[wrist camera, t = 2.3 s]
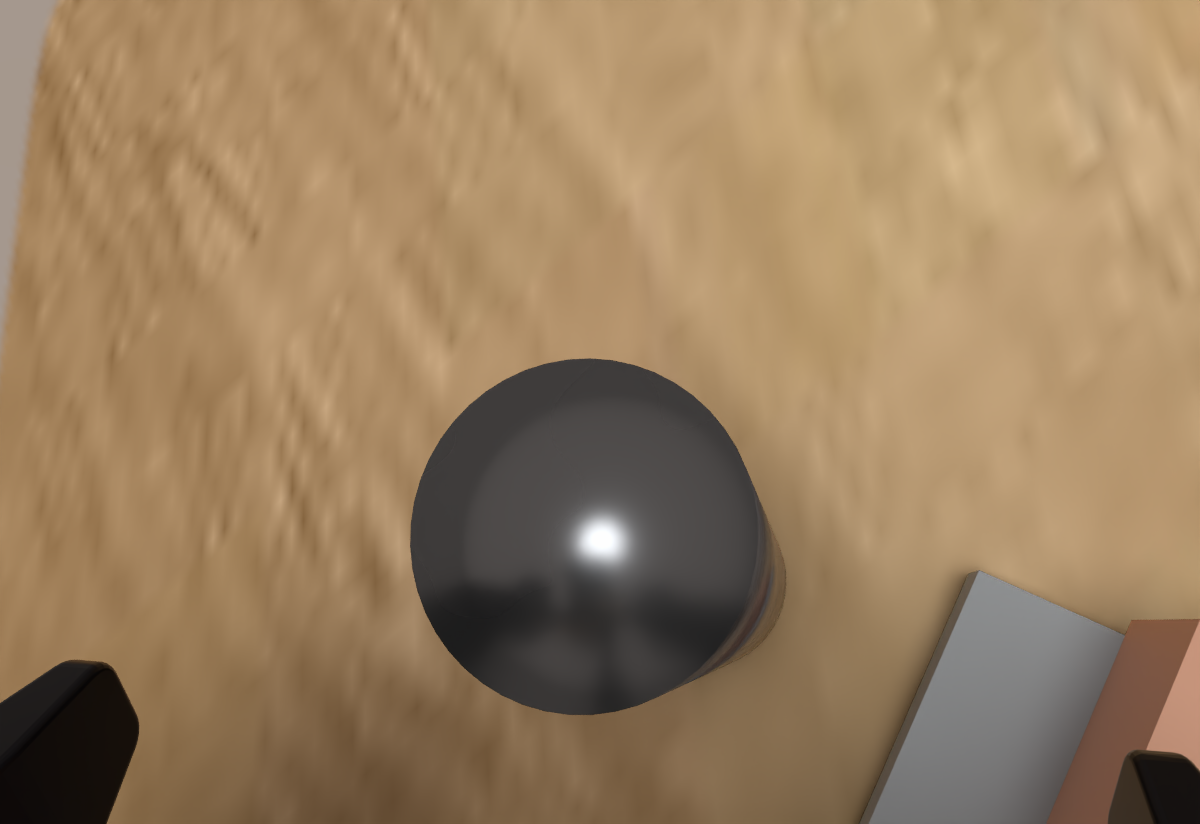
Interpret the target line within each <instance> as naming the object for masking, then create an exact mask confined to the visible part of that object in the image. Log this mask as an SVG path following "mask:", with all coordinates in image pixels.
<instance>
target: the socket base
mask: <svg viewBox="0 0 1200 824" xmlns="http://www.w3.org/2000/svg"><path fill="white" fill-rule="evenodd" d="M1137 749H1139V750H1151V751H1163V752H1174V753H1178V754H1182V755H1183V756H1185V757H1187V758H1188V759H1189V760H1191V761H1192V762H1193V763H1194V764H1195V766H1196V767H1197V768H1198V769H1199V770H1200V619H1179V620H1131V623H1130V625H1129V627H1128V630H1127V632H1126V635H1123V634H1121V633H1118V632H1116V631H1114V630H1112V629H1110V628H1107V627H1105V626H1103V625H1101V624H1098V623H1096V622H1094V621H1092V620H1089V619H1087V618H1085V617H1083V616H1080V615H1078V614H1076V613H1074V612H1071V611H1069V610H1067V609H1065V608H1062V607H1060V606H1058V605H1056V604H1053V603H1051V602H1049V601H1047V600H1045V599H1042V598H1040V597H1038V596H1036V595H1033V594H1031V593H1029V592H1027V591H1024V590H1022V589H1020V588H1018V587H1015V586H1013V585H1011V584H1009V583H1006V582H1004V581H1002V580H1000V579H997V578H995V577H993V576H991V575H988V574H986V573H984V572H982V571H980V570H979V571H975V572H972V573H969V574H968V576H967V578H966V580H965V583H964V585H963V587H962V590H961V592H960V594H959V596H958V599H957V601H956V603H955V606H954V608H953V610H952V613H951V615H950V617H949V619H948V622H947V624H946V626H945V629H944V631H943V633H942V635H941V638H940V640H939V642H938V645H937V647H936V649H935V651H934V654H933V656H932V658H931V661H930V663H929V665H928V667H927V670H926V672H925V674H924V677H923V679H922V681H921V683H920V686H919V688H918V690H917V693H916V695H915V697H914V700H913V702H912V704H911V706H910V709H909V711H908V713H907V716H906V718H905V720H904V722H903V725H902V727H901V729H900V732H899V734H898V736H897V738H896V741H895V743H894V745H893V748H892V750H891V752H890V754H889V757H888V759H887V761H886V764H885V766H884V768H883V771H882V773H881V775H880V777H879V780H878V782H877V784H876V787H875V789H874V791H873V793H872V796H871V798H870V800H869V803H868V805H867V807H866V809H865V812H864V814H863V816H862V819H861V821H860V823H859V824H1108V814H1109V809H1110V806H1111V802H1112V799H1113V795H1114V792H1115V788H1116V785H1117V781H1118V778H1119V774H1120V771H1121V767H1122V764H1123V761H1124V758H1125V756H1126V755H1127V754H1128V753H1129V752H1130V751H1132V750H1137Z"/></svg>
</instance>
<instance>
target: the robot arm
mask: <svg viewBox="0 0 1200 824" xmlns="http://www.w3.org/2000/svg"><path fill="white" fill-rule="evenodd" d="M138 736H139V721H138V717H137V714H136V712H135V710H134V708H133V706H132V704H131V702H130V700H129V698H128V696H127V694H126V692H125V690H124V688H123V686H122V684H121V682H120V679H119V677H118V675H117V673H116V672H115V670H114V669H113V668H112V667H111V666H110V665H108V664H107V663H104V662H96V661H84V660H69V661H65V662H62V663H60V664H59V665H57V666H55V667H54V668H52V669H51V670H49V671H48V672H46V673H45V674H43V675H42V676H40V677H39V678H37V679H36V680H34V681H33V682H31V683H30V684H28V685H27V686H25V687H24V688H22V689H21V690H19V691H18V692H16V693H15V694H13V695H12V696H10V697H9V698H7V699H6V700H4V701H3V702H1V703H0V824H107V821H108V818H109V816H110V813H111V811H112V808H113V805H114V803H115V800H116V797H117V795H118V792H119V790H120V787H121V784H122V782H123V779H124V777H125V774H126V771H127V769H128V766H129V763H130V761H131V758H132V756H133V753H134V750H135V748H136V745H137V741H138ZM1108 824H1200V770H1199V769H1198V768H1197V767H1196V766H1195V764H1194V763H1193V762H1192V761H1191V760H1189V759H1188V758H1187V757H1185V756H1183V755H1182V754H1178V753H1174V752H1163V751H1151V750H1139V749H1137V750H1132V751H1130V752H1129V753H1128V754H1127V755H1126V756H1125V758H1124V761H1123V764H1122V767H1121V771H1120V774H1119V778H1118V781H1117V785H1116V788H1115V792H1114V795H1113V799H1112V802H1111V806H1110V809H1109V814H1108Z"/></svg>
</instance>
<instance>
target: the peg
mask: <svg viewBox="0 0 1200 824" xmlns="http://www.w3.org/2000/svg"><path fill="white" fill-rule="evenodd" d="M410 548H411V558H412V568H413V573H414V578H415V582H416V586H417V591H418V594H419V596H420V599H421V602H422V605H423V607H424V610H425V613H426V615H427V617H428V619H429V620H430V622H431V624H432V626H433V628H434V630H435V632H436V634H437V635H438V636H439V638H440V639H441V641H442V642H443V644H444V645H445V647H446V648H447V649H448V651H449V652H450V653H451V654H452V655H453V656H454V658H455V659H456V660H457V661H458V662H459V663H460V664H461V665H462V666H463V667H464V668H465V669H466V670H467V671H468V672H469V673H471V674H472V675H473V676H474V677H475V678H477V679H478V680H479V681H480V682H481V683H483V684H484V685H486V686H488V687H489V688H491V689H492V690H494V691H496V692H497V693H499V694H500V695H502V696H504V697H507V698H509V699H511V700H513V701H516V702H518V703H520V704H522V705H526V706H529V707H532V708H536V709H539V710H543V711H547V712H554V713H561V714H567V715H593V714H601V713H609V712H616V711H619V710H623V709H627V708H630V707H634V706H637V705H640V704H642V703H645V702H647V701H649V700H652V699H654V698H656V697H659V696H661V695H663V694H665V693H667V692H669V691H671V690H674V689H676V688H678V687H680V686H682V685H684V684H686V683H689V682H691V681H693V680H695V679H697V678H699V677H701V676H704V675H706V674H708V673H710V672H712V671H714V670H716V669H718V668H721V667H723V666H725V665H727V664H729V663H731V662H733V661H736V660H738V659H740V658H741V657H743V656H745V655H746V654H748V653H750V652H751V651H752V650H753V649H755V648H756V647H757V646H758V645H759V644H760V643H761V642H762V641H763V640H764V639H765V638H766V637H767V635H768V634H769V632H770V631H771V630H772V628H773V627H774V625H775V623H776V621H777V619H778V617H779V615H780V612H781V609H782V606H783V602H784V598H785V591H786V571H785V565H784V560H783V557H782V553H781V550H780V548H779V545H778V543H777V540H776V538H775V536H774V533H773V531H772V529H771V526H770V524H769V521H768V519H767V517H766V514H765V512H764V510H763V507H762V505H761V502H760V500H759V498H758V495H757V493H756V491H755V488H754V486H753V484H752V481H751V479H750V476H749V474H748V472H747V469H746V467H745V465H744V463H743V461H742V458H741V456H740V454H739V452H738V450H737V448H736V446H735V445H734V443H733V441H732V440H731V438H730V437H729V435H728V433H727V432H726V430H725V429H724V427H723V426H722V425H721V424H720V423H719V421H718V420H717V419H716V418H715V417H714V415H713V414H712V413H711V412H710V411H709V410H708V409H707V408H706V407H705V406H704V405H703V404H702V403H700V402H699V401H698V400H697V399H696V398H695V397H694V396H693V395H691V394H690V393H689V392H687V391H686V390H684V389H683V388H681V387H680V386H678V385H677V384H676V383H674V382H672V381H670V380H668V379H666V378H664V377H662V376H660V375H658V374H657V373H655V372H652V371H649V370H646V369H643V368H641V367H638V366H635V365H631V364H627V363H622V362H617V361H613V360H601V359H572V360H564V361H558V362H553V363H547V364H543V365H540V366H537V367H534V368H531V369H528V370H525V371H523V372H520V373H518V374H516V375H514V376H512V377H510V378H508V379H505V380H504V381H502V382H500V383H499V384H497V385H496V386H494V387H493V388H491V389H489V390H488V391H486V392H485V393H484V394H482V395H481V396H480V397H479V398H478V399H476V400H475V401H474V402H473V403H471V404H470V405H469V406H468V407H467V408H466V409H465V410H464V411H463V412H462V413H461V414H460V415H459V416H458V418H457V419H456V420H455V421H454V422H453V423H452V424H451V426H450V427H449V428H448V430H447V431H446V432H445V434H444V435H443V437H442V438H441V439H440V441H439V443H438V444H437V446H436V448H435V450H434V451H433V453H432V455H431V457H430V458H429V461H428V463H427V465H426V468H425V470H424V472H423V475H422V477H421V480H420V483H419V487H418V490H417V494H416V497H415V501H414V507H413V514H412V520H411V541H410Z"/></svg>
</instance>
